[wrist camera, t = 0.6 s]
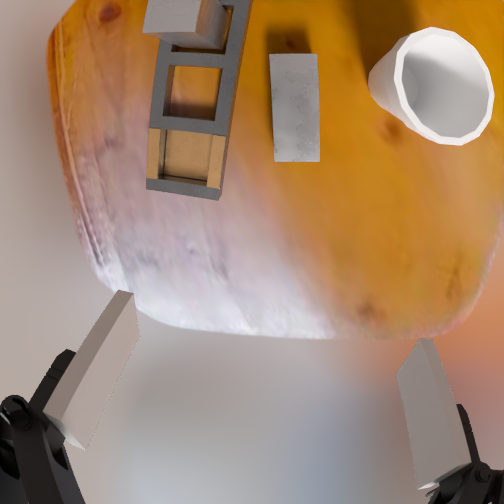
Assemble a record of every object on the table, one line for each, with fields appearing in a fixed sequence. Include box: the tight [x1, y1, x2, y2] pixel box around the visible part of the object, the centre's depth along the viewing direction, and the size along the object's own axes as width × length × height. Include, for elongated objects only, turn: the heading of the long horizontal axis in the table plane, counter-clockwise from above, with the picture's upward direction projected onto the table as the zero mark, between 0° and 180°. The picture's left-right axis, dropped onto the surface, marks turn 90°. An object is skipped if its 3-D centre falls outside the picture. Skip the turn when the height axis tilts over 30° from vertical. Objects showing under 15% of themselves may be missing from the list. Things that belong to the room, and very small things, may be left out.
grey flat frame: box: [146, 0, 253, 201], centre depth 29 cm, size 24×9×2 cm, turn 171°
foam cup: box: [368, 27, 494, 145], centre depth 21 cm, size 10×9×13 cm
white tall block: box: [142, 0, 229, 50], centre depth 21 cm, size 4×4×11 cm
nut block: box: [269, 54, 320, 162], centre depth 28 cm, size 11×4×4 cm, turn 3°
